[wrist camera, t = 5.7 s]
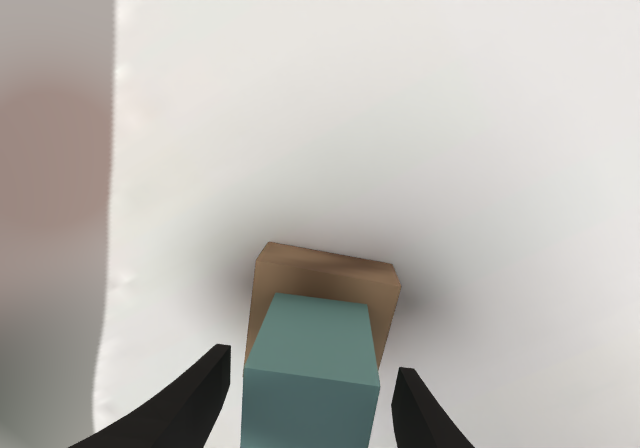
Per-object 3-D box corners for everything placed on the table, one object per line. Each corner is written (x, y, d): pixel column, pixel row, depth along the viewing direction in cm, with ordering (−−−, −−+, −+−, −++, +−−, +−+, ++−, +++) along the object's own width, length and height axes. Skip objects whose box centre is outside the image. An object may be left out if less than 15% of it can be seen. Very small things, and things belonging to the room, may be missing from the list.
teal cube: (367, 304, 14) (380, 386, 10) (354, 379, 16) (360, 485, 11) (275, 292, 15) (243, 367, 10) (270, 367, 16) (239, 466, 11)
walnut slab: (390, 261, 17) (401, 286, 14) (365, 361, 19) (369, 401, 16) (270, 239, 17) (255, 259, 14) (257, 341, 19) (242, 377, 16)
